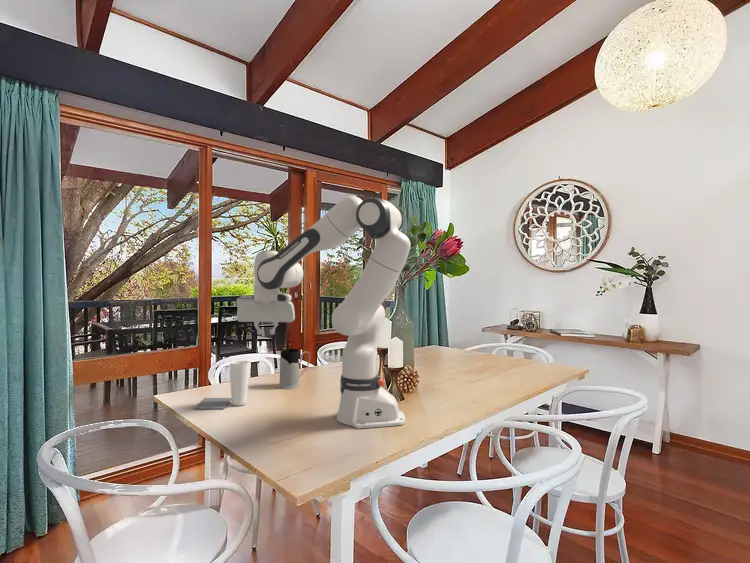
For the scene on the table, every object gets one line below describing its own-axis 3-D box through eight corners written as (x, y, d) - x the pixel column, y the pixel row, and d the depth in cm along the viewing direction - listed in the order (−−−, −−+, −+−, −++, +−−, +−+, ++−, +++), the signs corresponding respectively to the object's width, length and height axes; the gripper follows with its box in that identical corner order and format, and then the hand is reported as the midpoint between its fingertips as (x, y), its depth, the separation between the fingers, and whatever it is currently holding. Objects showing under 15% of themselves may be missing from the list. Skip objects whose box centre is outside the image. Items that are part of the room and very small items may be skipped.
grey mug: (274, 385, 176) (275, 350, 176) (304, 380, 186) (304, 346, 185) (285, 390, 170) (285, 353, 169) (315, 384, 179) (315, 349, 179)
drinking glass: (239, 400, 156) (239, 359, 156) (253, 402, 153) (253, 361, 153) (225, 405, 150) (225, 363, 150) (239, 408, 147) (240, 365, 147)
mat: (232, 399, 157) (232, 397, 157) (223, 409, 145) (223, 408, 145) (204, 399, 156) (204, 397, 156) (193, 409, 144) (193, 408, 144)
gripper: (234, 296, 147) (234, 335, 148) (293, 296, 149) (293, 335, 149) (238, 295, 154) (238, 333, 154) (295, 295, 155) (295, 333, 156)
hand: (265, 334), depth 152 cm, fingers open, 3 cm apart
